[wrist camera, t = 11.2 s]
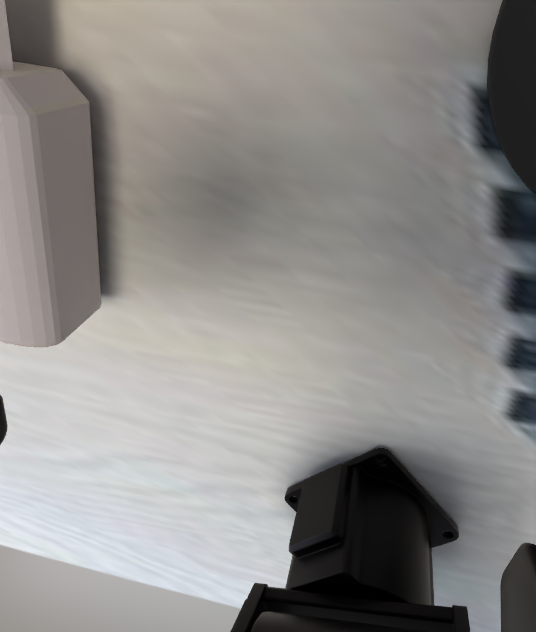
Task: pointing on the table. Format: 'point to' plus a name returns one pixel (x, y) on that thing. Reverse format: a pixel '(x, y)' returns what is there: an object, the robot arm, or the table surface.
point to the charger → (44, 203)
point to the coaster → (515, 86)
